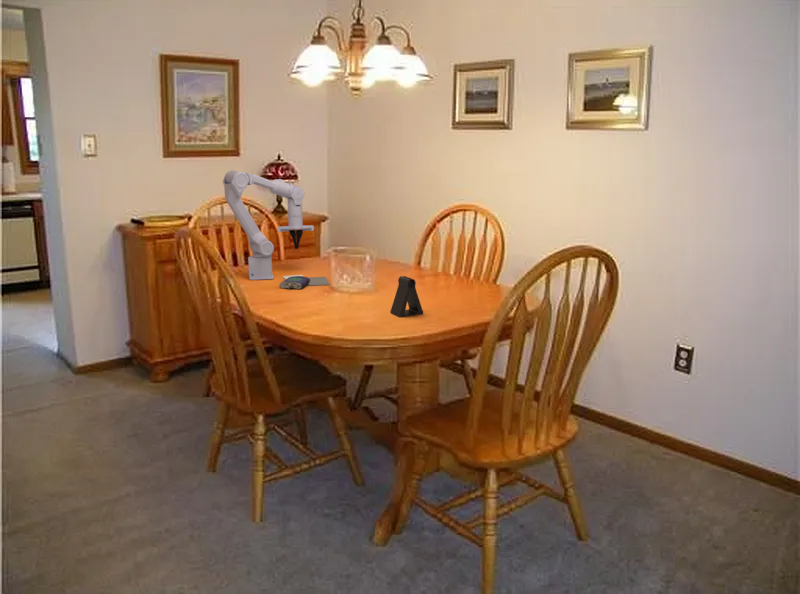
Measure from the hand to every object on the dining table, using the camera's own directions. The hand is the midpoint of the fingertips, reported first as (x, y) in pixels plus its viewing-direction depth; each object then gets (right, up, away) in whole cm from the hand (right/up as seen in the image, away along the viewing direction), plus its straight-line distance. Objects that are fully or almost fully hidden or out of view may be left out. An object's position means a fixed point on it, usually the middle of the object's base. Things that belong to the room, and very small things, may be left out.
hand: (296, 248), depth 283 cm
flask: (+4, -13, -17) cm, 22 cm away
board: (+10, -14, -13) cm, 22 cm away
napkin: (0, -12, -7) cm, 14 cm away
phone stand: (+45, -26, -59) cm, 79 cm away
